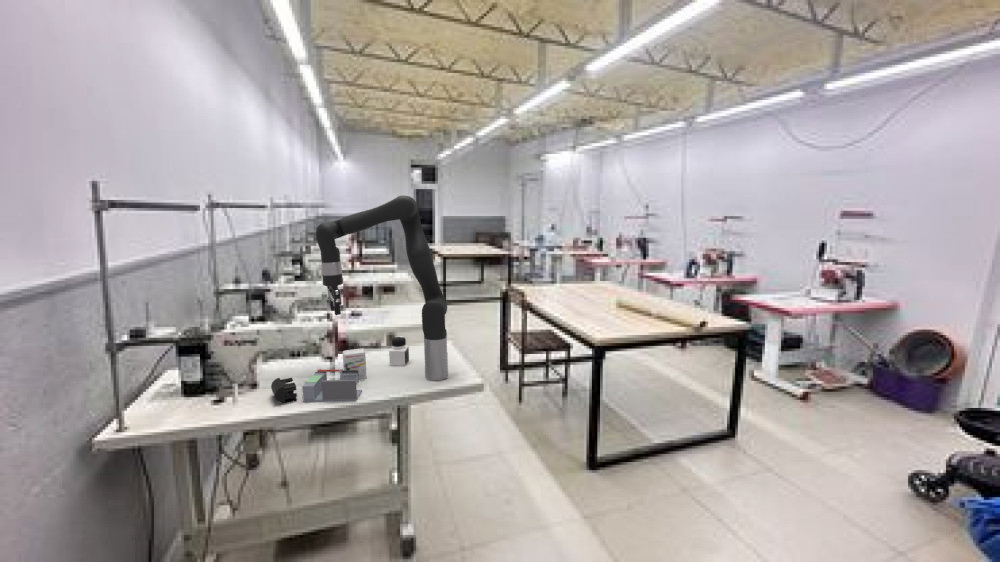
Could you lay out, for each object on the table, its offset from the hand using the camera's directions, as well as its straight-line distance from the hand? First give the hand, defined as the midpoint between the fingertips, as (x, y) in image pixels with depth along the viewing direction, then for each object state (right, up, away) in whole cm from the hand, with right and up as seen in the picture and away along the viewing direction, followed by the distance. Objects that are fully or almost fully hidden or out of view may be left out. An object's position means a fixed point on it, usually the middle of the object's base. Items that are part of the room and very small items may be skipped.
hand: (335, 312), depth 174 cm
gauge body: (+4, -30, -11) cm, 32 cm away
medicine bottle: (+21, -24, +20) cm, 38 cm away
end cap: (-13, -31, -15) cm, 37 cm away
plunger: (+3, -28, -5) cm, 28 cm away
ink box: (+7, -28, +3) cm, 29 cm away
